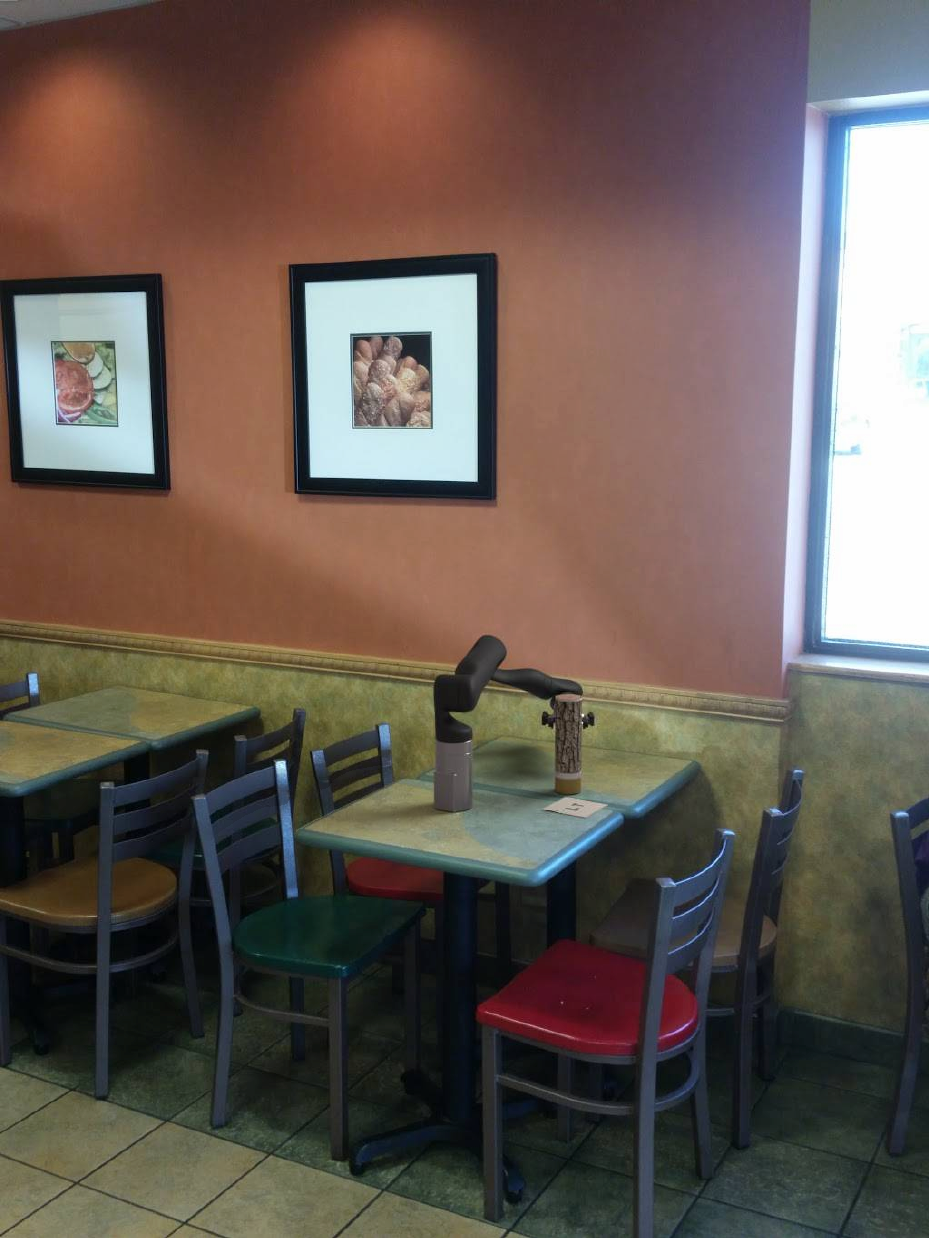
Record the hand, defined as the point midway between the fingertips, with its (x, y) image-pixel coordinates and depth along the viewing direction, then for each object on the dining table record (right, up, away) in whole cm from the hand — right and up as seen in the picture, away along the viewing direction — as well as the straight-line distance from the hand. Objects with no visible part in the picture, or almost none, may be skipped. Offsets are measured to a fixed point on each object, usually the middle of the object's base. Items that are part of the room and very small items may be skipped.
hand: (568, 725), depth 327 cm
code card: (0, -18, -22) cm, 29 cm away
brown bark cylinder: (-1, -17, -8) cm, 19 cm away
